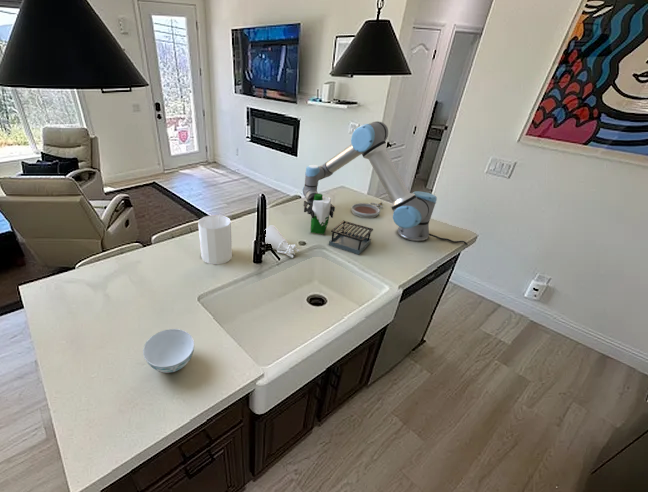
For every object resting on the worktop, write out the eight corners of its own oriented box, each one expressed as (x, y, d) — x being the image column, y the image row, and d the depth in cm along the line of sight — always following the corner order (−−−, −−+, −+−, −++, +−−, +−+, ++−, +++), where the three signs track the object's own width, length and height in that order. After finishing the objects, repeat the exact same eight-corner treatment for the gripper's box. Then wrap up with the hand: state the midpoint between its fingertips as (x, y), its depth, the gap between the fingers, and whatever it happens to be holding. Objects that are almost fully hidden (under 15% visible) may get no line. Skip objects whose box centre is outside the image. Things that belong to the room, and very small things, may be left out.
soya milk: (311, 226, 182) (315, 191, 170) (328, 228, 179) (333, 193, 168) (308, 233, 175) (312, 197, 164) (325, 235, 172) (330, 199, 161)
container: (233, 262, 151) (232, 227, 141) (202, 265, 148) (199, 230, 138) (229, 247, 163) (228, 213, 153) (200, 249, 160) (197, 216, 150)
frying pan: (394, 204, 203) (370, 216, 187) (393, 209, 205) (369, 221, 188) (370, 196, 213) (345, 207, 197) (369, 201, 215) (344, 211, 199)
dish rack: (370, 242, 167) (373, 228, 163) (359, 255, 157) (362, 240, 153) (341, 233, 175) (343, 220, 171) (328, 245, 165) (330, 230, 161)
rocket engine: (301, 240, 149) (271, 221, 156) (286, 260, 148) (257, 240, 156) (305, 248, 160) (277, 230, 167) (291, 267, 159) (263, 248, 166)
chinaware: (141, 384, 96) (136, 366, 92) (154, 345, 108) (150, 328, 104) (192, 384, 96) (189, 366, 92) (199, 345, 109) (197, 328, 104)
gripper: (331, 204, 188) (342, 221, 170) (294, 205, 187) (301, 222, 169) (333, 192, 184) (345, 208, 166) (295, 192, 183) (302, 209, 164)
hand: (322, 215), depth 167 cm, fingers closed on soya milk, 9 cm apart
